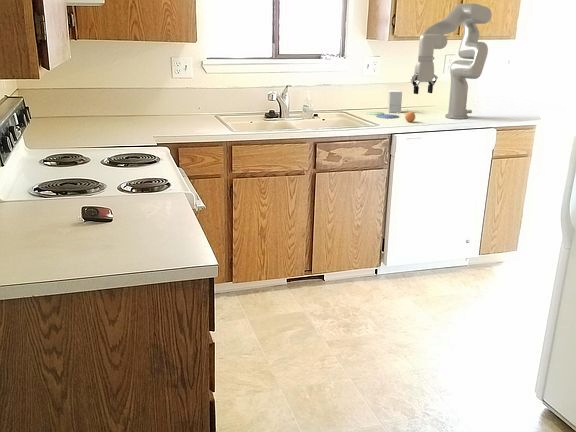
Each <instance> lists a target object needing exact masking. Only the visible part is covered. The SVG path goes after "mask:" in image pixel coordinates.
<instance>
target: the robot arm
mask: <svg viewBox="0 0 576 432" xmlns="http://www.w3.org/2000/svg"><path fill="white" fill-rule="evenodd" d="M492 14H493V13H492V10H491V9H490V8H489V7H488V6H486V5H485V6H484V5H481V4H479V3H478V4H477V3H458V4H456V6H454V7H453V9H452V10H451V11H450V12H449V13H448V14H447V16H445V18H444V19H442V20H440V21H438V22H435V23H434V24H432V25H430V26H429V27H428V28H427V29H426V30H425V31H424V32H423V34H421V35H420V37H419V44H418V45H419V46H418V57H417V62H416V64H415V66H414V72H413V73H414V74H413V75H412V76H411V77H410V78H409V79H410V82H411V84H412V86H413V95H419V91H420V90H419V89H420V87H419V85H420V83H428V85H427V93H428V94H433V91H434V86H435V83H437V80H438V76H437V74H435V63H434V60H435V56H434V52H435V50H442V49H444V48H446V46H447V44H448V38H447V36H446V35H447V34H452V33H455V31H457V30H458V29H459V27H460V26H461V25H462V26H463V34H462V38H461V41H460V45H459V48H458V56H459V58H461V59H459V60H458V59H457V60H455V61H453V62H452V63H451V65H450V66H449V67H450V69H449V71H450V72H449V73H450V90H449V101H448V112H447V113H446V114H445V115H444V116H445V118H448V119H455V120H464V119H469V115H468V114H472V113H473V110H472V109H467V102H468V92H469V91H468V90H469V84H468V81H467V79H470V80H476V79H479V78H480V77H481V75H482V72H483V70H484V67H485V63H486V61H487V57H488V53H489V47H488V45H487V43H486V42H484V41H479V38H480V31H479V28H478V26H477V25H478V24H480V25H481V24H482V25H486V24H487V23H489V22H490V20H491V19H492V16H493V15H492ZM462 59H465V60H462Z"/></svg>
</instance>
